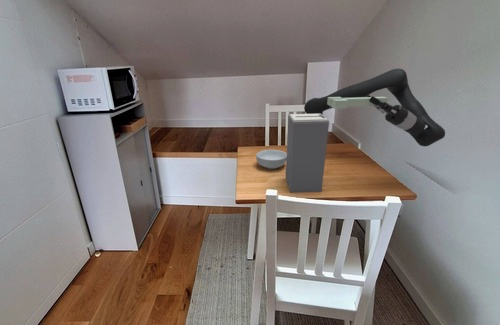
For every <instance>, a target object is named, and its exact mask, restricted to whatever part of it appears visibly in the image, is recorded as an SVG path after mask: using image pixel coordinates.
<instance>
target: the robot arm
mask: <svg viewBox="0 0 500 325" xmlns="http://www.w3.org/2000/svg"><path fill="white" fill-rule="evenodd" d="M408 81H409V80H408V75H407V72H406V71H405V70H404V69H402V68H393V69H391V70H388V71H386V72H383V73H380V74H379V75H377V76H374V77H371V78H369V79H365V80H363V81H360V82H357V83H355V84H351V85H349V86H346V87H342V88H341V89H338V90H337V91H334V92H332V93H330V94H328V95H326V96H322V97H313V98H311V99H309V100H307V101H306V103H305V104H304V106H303V109H304V110H303V111H304V113H305V114H321V115H323V114H324V112H325V111H328V110H330V109H334V108H333V107H331V106H329V105H328V104H327V101H328V97H341V98H357V97H371V98H370V100H369V101H370V102H371V103H373V104H374V105H376V106H373V107H374V109H375V110H378V111H380V113H381V114H385V115H384V118H385V121H387V123H390V124H392V125H393V126H395V127H396V128H398V129H400V130H403V131H404V132H406V133H408V134H410V136H411V137H412V138H413V139H414V140H415V142H416V143H417V145H419V146H421V147H428V146H432V145H433V144H434V143H437V142H439V141H440V140H442V139H444V138H445V136H446V131H445V129H444V128H443V127H442V126H441V125H440V124H438V122H436V121H435V120H434V119H433V118H432V117H431V116H430V115H429V113H428V112H427V111H426V109H425V107H424V106H423V105H422V104H421V103H420V101H419V100H418V99H417V98H416V97H415V95H413V92H412V91H411V88H410V86H409V82H408ZM383 89H387V91H389V92H390V93H391V94H392V95H393V97H394V98H395V99H396V100H397V101H398V103H399V104H395V105H391V104H389V103H388V102H387V103H386V102H383V101H380V100H378V99H377V98H375V97H376V96H371V94H373V93H374V92H376V91H380V90H383ZM323 116H324V115H323Z"/></svg>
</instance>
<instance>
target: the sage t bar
mask: <svg viewBox="0 0 500 325" xmlns="http://www.w3.org/2000/svg"><path fill="white" fill-rule="evenodd" d="M371 97H372V96H371ZM371 97H357V98H341V97H328V101H327V104H328V105H329V106H331V107H333V108H332V109H337V110H338V109H348V107H374V106H376V105H374V104H373V103H371V102H370V101H369V100H370V98H371ZM374 97H375V98H377V99H378V100H380V101H383V102H386V103H388V99H389V98H388V97H385V96H374Z"/></svg>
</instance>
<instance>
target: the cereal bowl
mask: <svg viewBox="0 0 500 325" xmlns="http://www.w3.org/2000/svg"><path fill="white" fill-rule="evenodd" d="M255 155H256V156H255V158H256V162H257V163H258V165H260V166H262V167H264V168H266V169H268V170H269V169H270V170H274V169H277V168H280V167H282V166H284V165H286V159H287V152H285V151H283V150H279V149H264V150H260V151H258V152H257V153H256V154H255Z"/></svg>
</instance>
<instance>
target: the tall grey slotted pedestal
mask: <svg viewBox="0 0 500 325" xmlns="http://www.w3.org/2000/svg"><path fill="white" fill-rule="evenodd" d="M329 126H330V121H329V119H328V118H326V117H325V116H324V115H321V114H307V113H293V114H292V113H290V114H287V137H286V139H287V140H286V154H287V159H286V162H285V166H286V168H285V181H286V184H287V187H288V190H289V193H296V194H297V193H322V191H323V182H324V172H325V163H326V157H327V156H326V155H327V144H328V136H329Z"/></svg>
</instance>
